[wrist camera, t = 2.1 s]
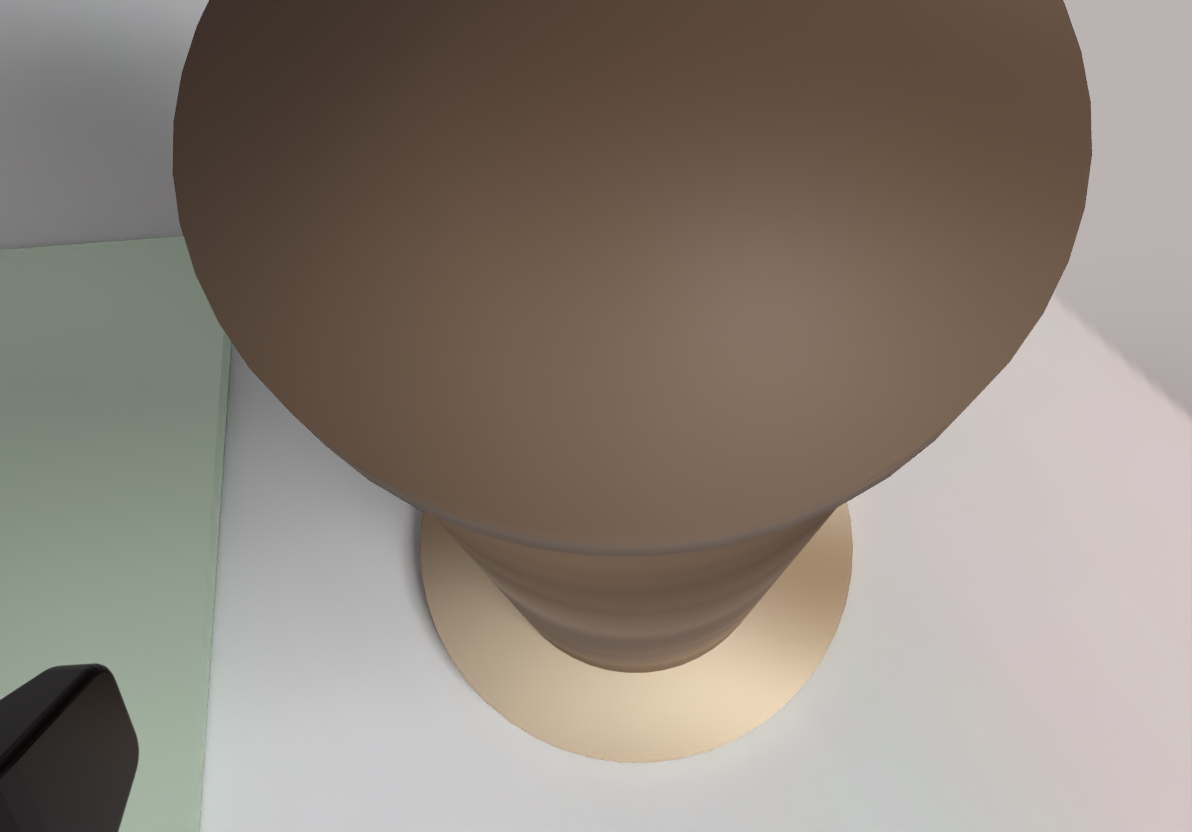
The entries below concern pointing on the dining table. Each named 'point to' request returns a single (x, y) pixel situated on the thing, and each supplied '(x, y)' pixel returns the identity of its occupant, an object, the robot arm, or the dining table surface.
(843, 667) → the dining table surface
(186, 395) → the mat
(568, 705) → the coaster
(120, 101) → the dining table surface
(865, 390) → the canister
